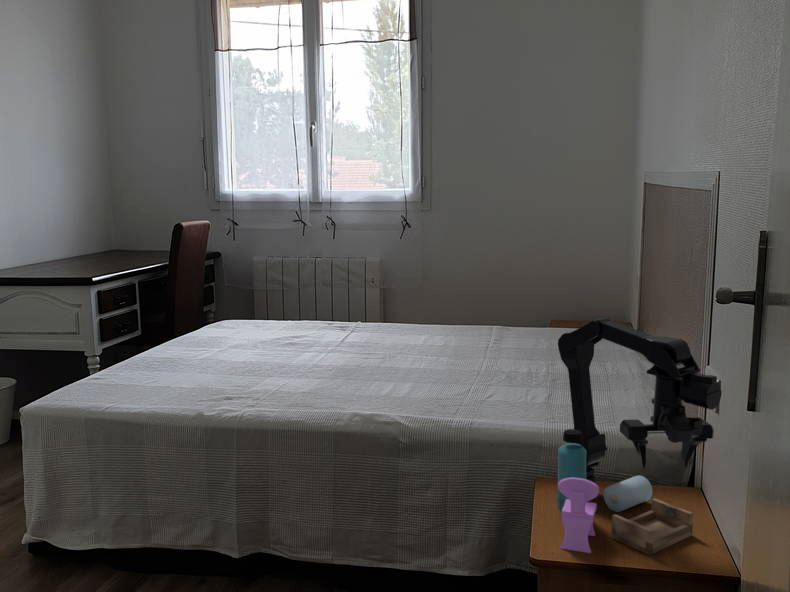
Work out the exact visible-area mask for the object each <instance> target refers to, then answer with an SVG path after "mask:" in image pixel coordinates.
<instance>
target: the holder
mask: <svg viewBox="0 0 790 592" xmlns="http://www.w3.org/2000/svg"><path fill="white" fill-rule="evenodd" d="M611 517H612V518H611V519H612V520H611V538H612V539H613V540H615V541H618V542H620V543H622V544H625V545H627V546H629V547H631V548H633V549H634V550H635V549H636V550H638V551H640V552H642V553H645V554H646V555H648V556H651V555H653V554H656V553H657V552H659V551H662V550H664V549H666V548H668V547H670V546H672V545H674V544H677V543H678V542H680V541H683V540H685V539H687V538H689V537H692V536H693V524H694V523H693V522H694V512H692V511H689V510H687V509H684V508H681V507H678V506H676V505H673V504H671V503H668V502H665V501H663V500H660V499H658V498H651V509H650V510H648V511H646V512H644V513H643V512H642V513H641V514H639V515H636V516H634V517H632V518H626V517H623V516H621V515H618V514H616V513H615V514H613V515H612V516H611Z"/></svg>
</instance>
